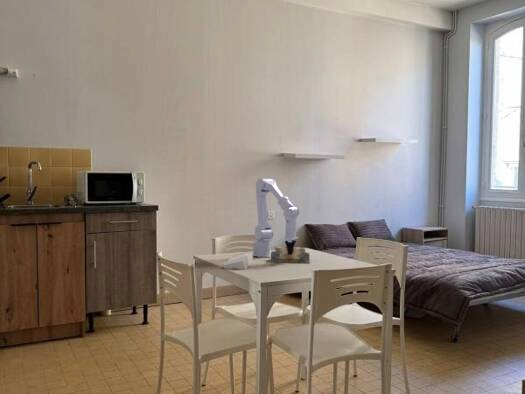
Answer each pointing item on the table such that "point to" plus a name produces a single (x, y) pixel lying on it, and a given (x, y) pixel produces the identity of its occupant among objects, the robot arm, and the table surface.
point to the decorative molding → (239, 261)
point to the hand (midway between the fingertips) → (290, 254)
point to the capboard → (303, 259)
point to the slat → (284, 252)
